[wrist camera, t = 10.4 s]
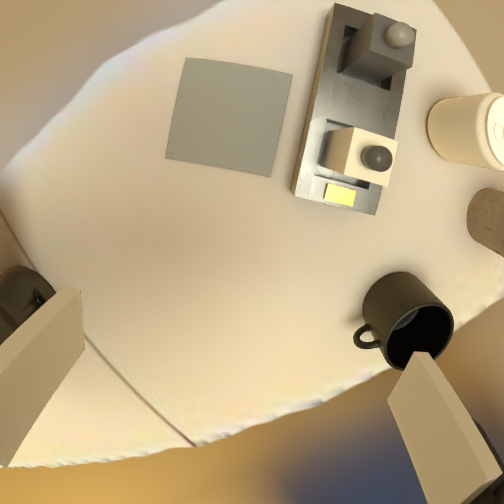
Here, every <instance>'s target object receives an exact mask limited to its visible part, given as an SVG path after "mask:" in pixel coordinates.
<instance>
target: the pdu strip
mask: <svg viewBox="0 0 504 504" xmlns="http://www.w3.org/2000/svg"><path fill="white" fill-rule="evenodd" d="M371 16H372V15H371V14H368V13H365V12H362V11H359V10H357V9H353V8H350V7H347V6H344V5H341V4H337V3H334V5H333V7H332V8H331V10H330V12H329V14H328V15H327V20H326V25H325V30H324V35H323V40H322V45H321V50H320V55H319V60H318V65H317V70H316V75H315V79H314V84H313V89H312V94H311V98H310V103H309V108H308V112H307V117H306V122H305V126H304V131H303V135H302V140H301V144H300V149H299V153H298V158H297V162H296V167H295V171H294V175H293V180H292V184H291V189H290V191H291V192H292V194H293V195H294V196H296V197H301V198H305V199H309V200H314V201H318V202H322V203H326V204H330V205H335V206H339V207H343V208H347V209H351V210H355V211H359V212H362V213H366V214H370V215H374V216H375V213H376V209H377V206H378V202H379V198H380V195H381V191H382V187H383V186H382V185H378V184H375V183H371V182H368V181H364V180H361V179H357V178H354V177H350V176H347V175H343V174H340V173H338V172H335V171H332V170H330V169H327V168H324V167H322V166H320V163H321V159H322V155H323V150H324V146H325V141H326V137H327V132H328V131H331V130H337V129H344V128H351V127H356V128H360V129H363V130H366V131H369V132H372V133H375V134H378V135H381V136H384V137H387V138H390V139H393V140H394V136H395V131H396V126H397V121H398V116H399V111H400V105H401V100H402V94H403V88H404V82H405V76H406V70H404V71H402V72H399V73H397V74H395V75H392V76H390V77H388V78H386V79H383V80H381V81H379V82H377V83H375V84H371V83H368V82H366V81H363V80H360V79H356V78H353V77H350V76H347V75H344V74H340V71H341V66H342V61H343V55H344V50H345V45H346V42H347V41H348V40H349V39H350V38H351V37H352V36H353V35H354V34H355V33H356V32H357V31H358V30H359V29H360V28H361V27H362V26H363V25H364V23H365V22H366V21H367V20H368V19H369V18H370V17H371Z"/></svg>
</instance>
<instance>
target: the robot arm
mask: <svg viewBox="0 0 504 504" xmlns="http://www.w3.org/2000/svg"><path fill="white" fill-rule="evenodd" d="M84 350H85V344H84V334H83V322H82V307H81V291H79V290H75V289H72V288H68V287H65V286H64V287H63V288H62V289H61V290H60V291H58V292H57V293H55V291H54V290H53V289H52V287H51V286H50V285H49V284H48V283H47V282H46V281H45V280H44V279H43V278H42V277H41V276H40V275H38V274H37V273H36V272H34V271H32V270H30V269H28V268H25V267H12V268H10V269H8V270H7V271H5V272H4V273H2V274H1V275H0V465H2V466H3V467H5V468H7V467H8V465H9V463H10V462H11V460H12V458H13V456H14V455H15V453H16V451H17V450H18V448H19V447H20V445H21V443H22V442H23V440H24V438H25V437H26V435H27V434H28V432H29V430H30V429H31V427H32V426H33V424H34V423H35V421H36V419H37V418H38V416H39V415H40V413H41V412H42V410H43V409H44V407H45V406H46V404H47V403H48V401H49V400H50V398H51V397H52V395H53V394H54V392H55V391H56V389H57V388H58V386H59V385H60V383H61V382H62V381H63V379H64V378H65V376H66V375H67V373H68V372H69V370H70V369H71V368H72V366H73V365H74V363H75V362H76V361H77V359H78V358H79V356H80V355H81V354H82V352H83V351H84ZM387 401H388V403H389V406H390V408H391V411H392V413H393V415H394V418H395V420H396V422H397V425H398V427H399V430H400V432H401V434H402V437H403V439H404V442H405V445H406V447H407V450H408V452H409V455H410V457H411V459H412V462H413V465H414V467H415V470H416V473H417V475H418V478H419V481H420V483H421V486H422V489H423V492H424V494H425V497H426V500H427V503H428V504H504V464H503V463H502V461H501V459H500V457H499V456H498V454H497V452H496V450H495V449H494V447H493V446H491V444H492V443H491V442H490V440H489V439H488V438H487V435H486V433H485V432H484V430H483V428H482V427H481V426H480V425H479V424H478V423H477V422H476V421H475V420H474V419H473V418H471V417H470V415H469V414H468V412H467V411H466V409H465V407H464V406H463V404H462V403H461V401H460V400H459V398H458V396H457V395H456V393H455V392H454V390H453V389H452V387H451V385H450V384H449V383H448V381H447V379H446V378H445V376H444V375H443V373H442V372H441V370H440V369H439V368H438V366H437V365H436V363H435V362H434V360H433V359H432V357H431V356H430V354H429V353H428V352H415V351H414V353H413V355H412V357H411V358H410V360H409V362H408V364H407V366H406V368H405V370H404V372H403V373H402V375H401V377H400V379H399V381H398V383H397V384H396V386H395V388H394V389H393V391H392V393H391V394H390V396H389V398H388V399H387Z"/></svg>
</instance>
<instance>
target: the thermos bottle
mask: <svg viewBox="0 0 504 504" xmlns="http://www.w3.org/2000/svg"><path fill="white" fill-rule="evenodd" d="M467 226H468V230H469V233H470V235H471V236H472V238H473V239H474V240H475V241H477V242H479V243H480V244H482V245H484V246H486V247H487V248H489V249H491V250H493V251H494V252H496V253H498V254H499V255H501V256H503V257H504V192H501V191H497V190H494V189H489V188H487V189H483V190H481V191H480V192H478V193H477V194H476V195H475V197H474V198H473V199H472V201H471V203H470V206H469V209H468V213H467Z"/></svg>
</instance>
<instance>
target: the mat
mask: <svg viewBox="0 0 504 504" xmlns="http://www.w3.org/2000/svg"><path fill="white" fill-rule="evenodd" d="M292 76H293V75H291V74H287V73H283V72H278V71H273V70H268V69H263V68H258V67H252V66H247V65H241V64H235V63H228V62H221V61H214V60H206V59H197V58H187V57H186V60H185V64H184V68H183V72H182V76H181V81H180V85H179V90H178V94H177V99H176V104H175V108H174V113H173V118H172V124H171V129H170V134H169V140H168V145H167V151H166V157H165V158H167V159H174V160H180V161H186V162H192V163H198V164H204V165H209V166H215V167H221V168H226V169H231V170H236V171H242V172H247V173H252V174H256V175H261V176H266V177H271V172H272V168H273V163H274V158H275V154H276V149H277V145H278V140H279V135H280V131H281V126H282V122H283V117H284V112H285V108H286V103H287V99H288V94H289V89H290V85H291V80H292Z"/></svg>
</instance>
